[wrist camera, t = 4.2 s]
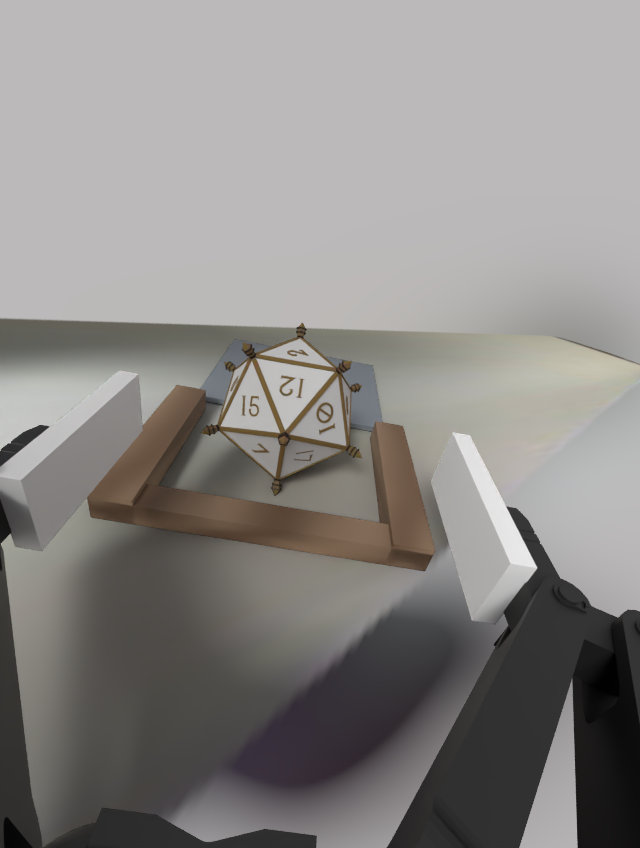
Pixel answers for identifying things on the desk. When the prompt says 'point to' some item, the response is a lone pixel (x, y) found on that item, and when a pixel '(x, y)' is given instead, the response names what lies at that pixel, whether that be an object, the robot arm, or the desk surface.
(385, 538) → the open frame
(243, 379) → the game die
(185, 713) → the desk surface
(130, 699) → the desk surface
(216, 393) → the mat
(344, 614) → the desk surface
